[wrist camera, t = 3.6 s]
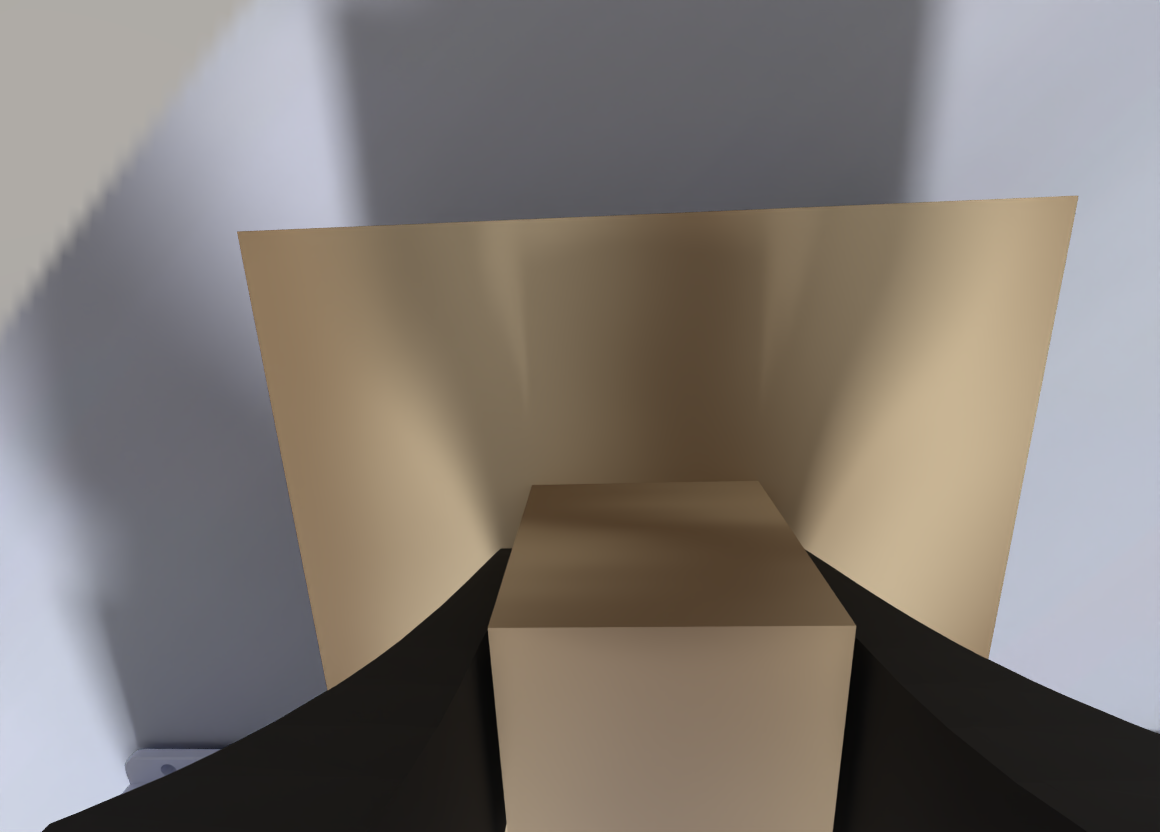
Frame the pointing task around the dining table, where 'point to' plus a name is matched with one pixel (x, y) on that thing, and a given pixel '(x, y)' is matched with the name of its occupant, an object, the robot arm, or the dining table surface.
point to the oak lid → (661, 470)
